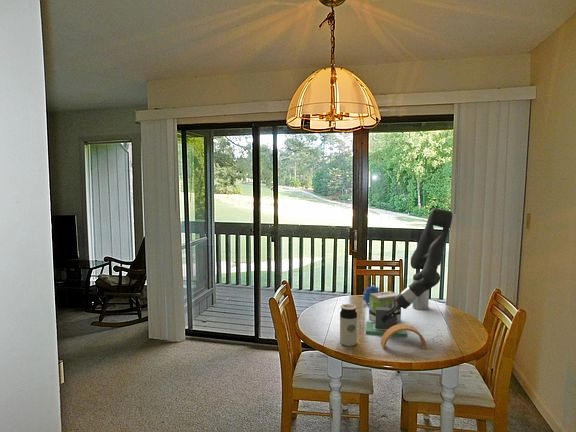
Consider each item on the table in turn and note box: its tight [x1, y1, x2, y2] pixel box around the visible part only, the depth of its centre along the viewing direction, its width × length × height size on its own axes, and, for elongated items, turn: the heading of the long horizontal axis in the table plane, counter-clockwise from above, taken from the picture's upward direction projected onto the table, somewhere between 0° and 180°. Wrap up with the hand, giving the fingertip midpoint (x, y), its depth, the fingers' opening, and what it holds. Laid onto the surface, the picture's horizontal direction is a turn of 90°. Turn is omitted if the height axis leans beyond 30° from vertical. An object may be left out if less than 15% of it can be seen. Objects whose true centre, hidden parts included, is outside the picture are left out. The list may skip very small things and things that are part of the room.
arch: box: [380, 323, 428, 350], centre depth 177 cm, size 6×20×10 cm, turn 87°
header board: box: [365, 321, 408, 338], centre depth 198 cm, size 14×20×4 cm
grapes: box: [362, 284, 381, 305], centre depth 243 cm, size 12×7×12 cm, turn 104°
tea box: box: [368, 290, 402, 322], centre depth 213 cm, size 15×10×15 cm
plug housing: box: [375, 307, 398, 329], centre depth 197 cm, size 5×10×10 cm, turn 77°
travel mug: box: [339, 303, 358, 347], centre depth 182 cm, size 8×8×18 cm
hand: (382, 318), depth 198 cm, fingers open, 5 cm apart
